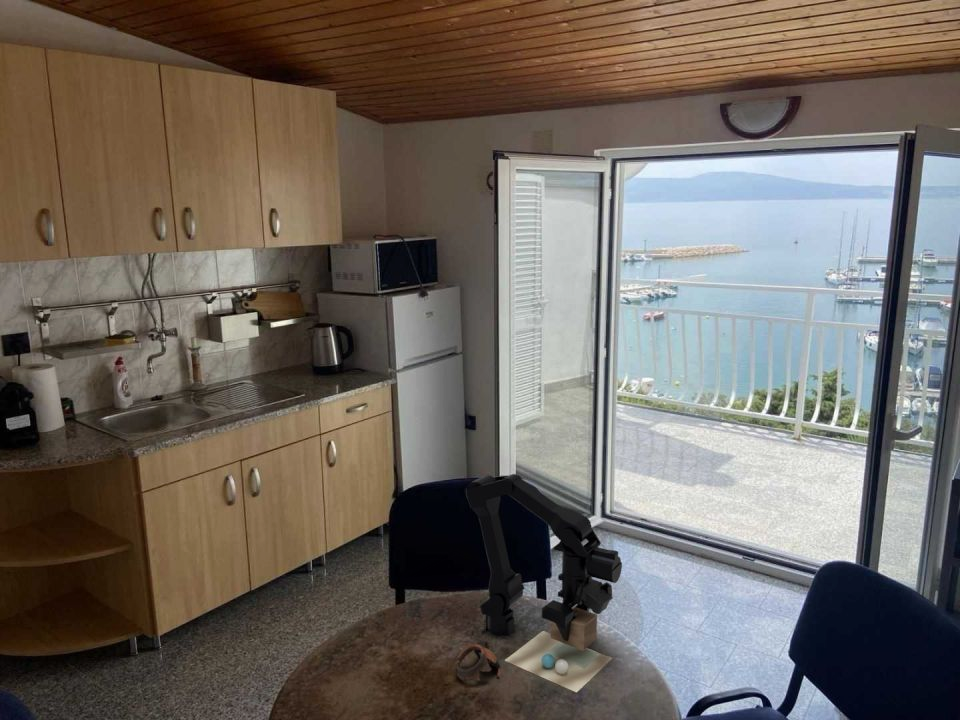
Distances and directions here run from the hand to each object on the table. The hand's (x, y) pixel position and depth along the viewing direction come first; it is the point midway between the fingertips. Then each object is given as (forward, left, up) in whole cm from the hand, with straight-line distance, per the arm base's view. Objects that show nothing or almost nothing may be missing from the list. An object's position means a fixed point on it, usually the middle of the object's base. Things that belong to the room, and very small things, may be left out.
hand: (573, 634), depth 163 cm
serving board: (-1, -4, -6) cm, 7 cm away
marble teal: (-2, -8, -5) cm, 10 cm away
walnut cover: (0, 0, -1) cm, 1 cm away
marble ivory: (+2, -8, -5) cm, 10 cm away
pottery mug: (-13, -18, -6) cm, 23 cm away
